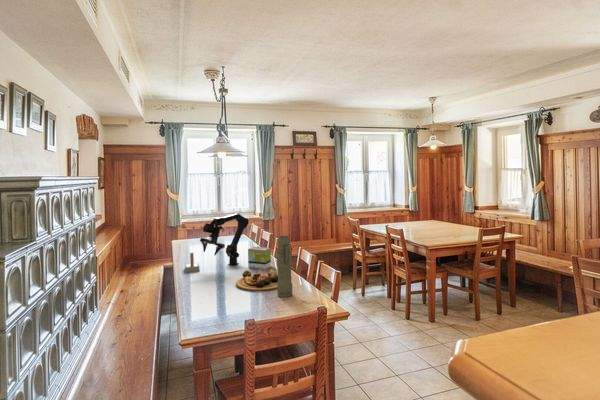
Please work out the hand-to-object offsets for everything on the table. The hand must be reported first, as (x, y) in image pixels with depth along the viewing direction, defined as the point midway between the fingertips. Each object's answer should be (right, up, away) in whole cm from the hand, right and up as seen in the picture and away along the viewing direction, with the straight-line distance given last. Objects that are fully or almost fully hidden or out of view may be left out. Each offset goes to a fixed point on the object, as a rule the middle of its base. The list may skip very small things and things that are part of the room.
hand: (209, 253), depth 286 cm
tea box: (+38, -11, +5) cm, 40 cm away
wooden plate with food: (+43, -15, -41) cm, 61 cm away
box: (-13, -12, -2) cm, 18 cm away
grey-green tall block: (+60, -15, -65) cm, 90 cm away
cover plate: (-13, -10, -1) cm, 16 cm away
